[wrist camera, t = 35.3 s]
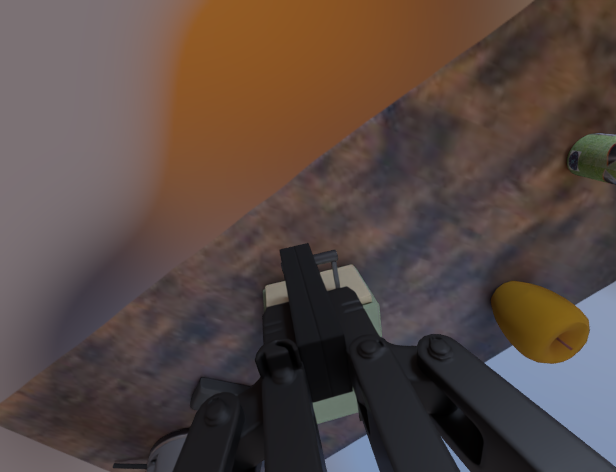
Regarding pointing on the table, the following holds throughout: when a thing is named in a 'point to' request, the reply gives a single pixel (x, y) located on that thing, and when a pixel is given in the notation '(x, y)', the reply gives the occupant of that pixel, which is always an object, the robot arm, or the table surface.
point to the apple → (539, 322)
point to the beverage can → (594, 157)
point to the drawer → (330, 278)
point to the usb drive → (213, 390)
